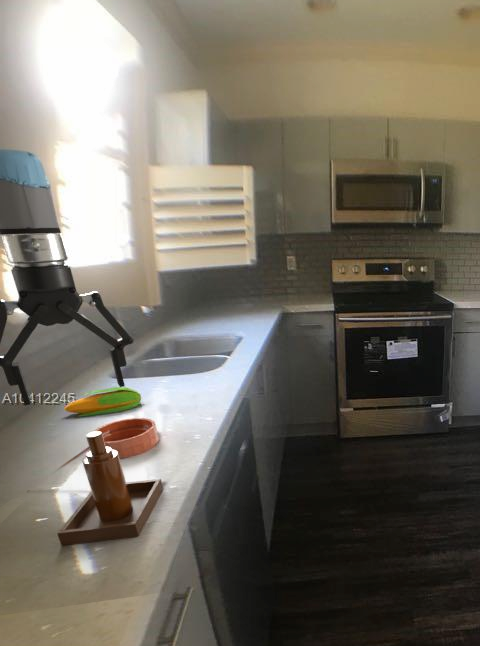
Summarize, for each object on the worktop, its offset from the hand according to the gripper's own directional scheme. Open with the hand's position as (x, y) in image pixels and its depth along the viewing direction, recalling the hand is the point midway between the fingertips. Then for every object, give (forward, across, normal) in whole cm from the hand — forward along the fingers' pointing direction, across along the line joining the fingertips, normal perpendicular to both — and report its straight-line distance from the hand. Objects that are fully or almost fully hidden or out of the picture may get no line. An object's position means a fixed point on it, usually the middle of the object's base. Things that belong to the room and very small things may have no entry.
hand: (76, 393), depth 78 cm
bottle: (+24, +1, -1) cm, 24 cm away
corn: (+26, +6, +60) cm, 66 cm away
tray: (+25, +1, -1) cm, 25 cm away
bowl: (+25, +8, +30) cm, 40 cm away
